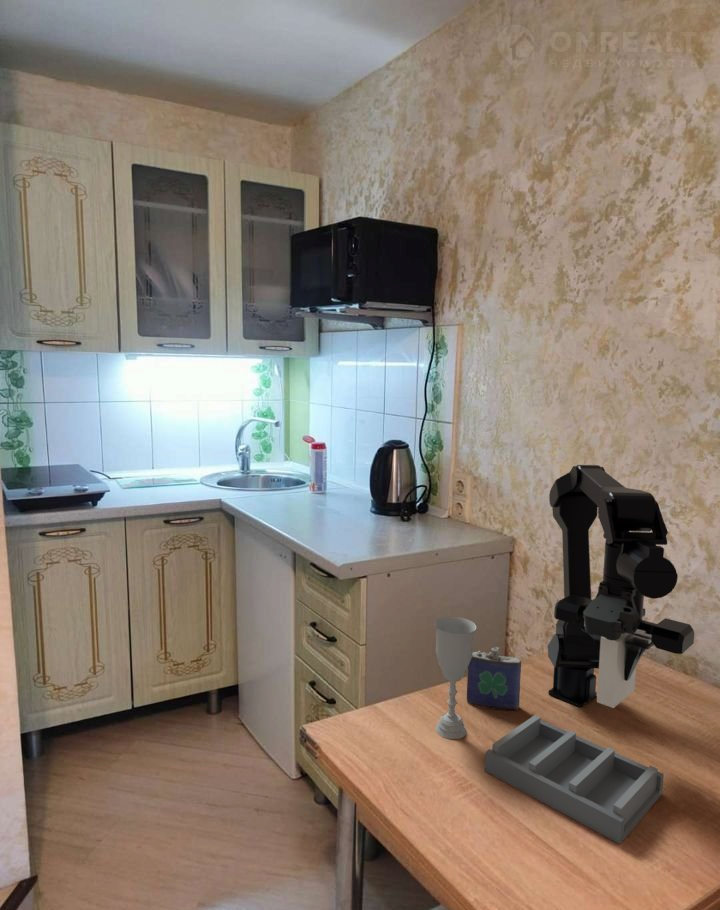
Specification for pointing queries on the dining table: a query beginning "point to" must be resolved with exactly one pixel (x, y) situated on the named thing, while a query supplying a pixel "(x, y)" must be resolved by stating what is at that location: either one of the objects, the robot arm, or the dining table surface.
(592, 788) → the rack
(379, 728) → the dining table surface
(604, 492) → the robot arm
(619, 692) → the white rectangular block
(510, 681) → the flask
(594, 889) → the dining table surface
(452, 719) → the chalice
